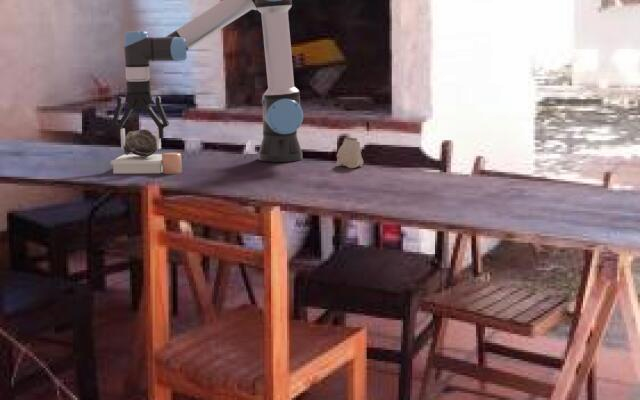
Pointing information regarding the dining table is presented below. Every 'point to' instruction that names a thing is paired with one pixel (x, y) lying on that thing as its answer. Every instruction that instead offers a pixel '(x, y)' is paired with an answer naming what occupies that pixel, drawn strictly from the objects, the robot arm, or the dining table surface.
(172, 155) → the peach rounded glossy part
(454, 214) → the dining table surface
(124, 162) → the stand
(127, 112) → the robot arm
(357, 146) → the beige rough lump
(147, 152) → the fossil
